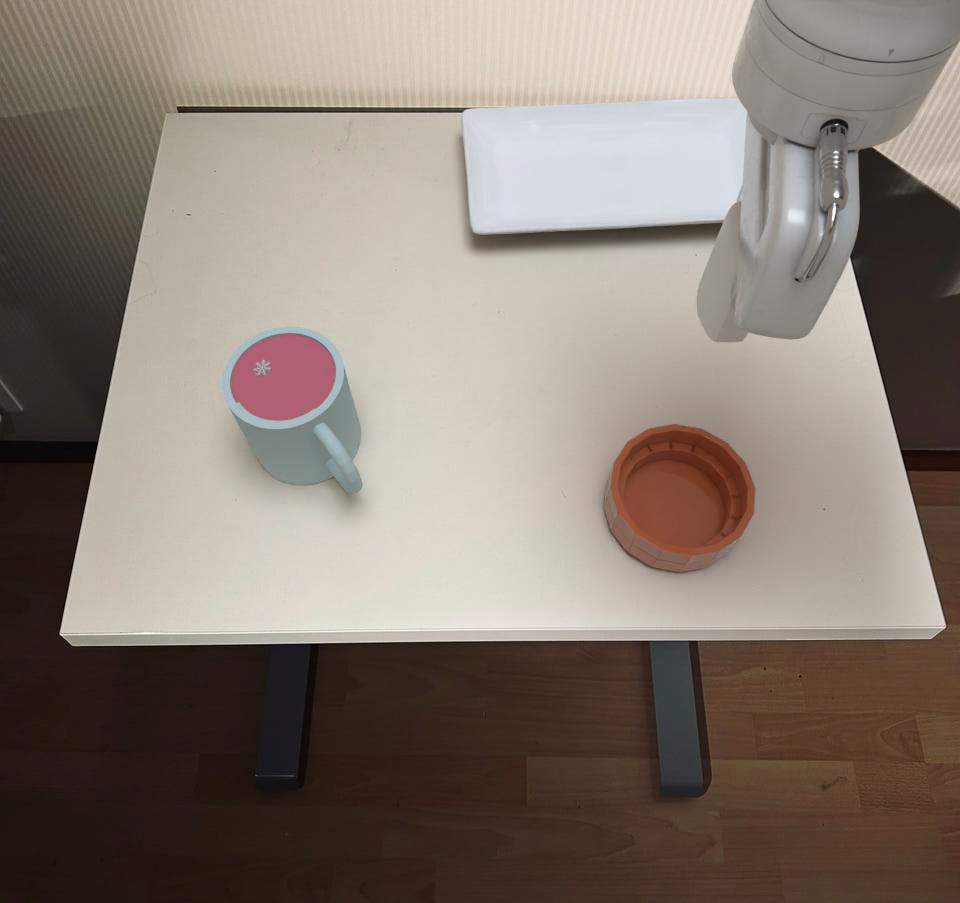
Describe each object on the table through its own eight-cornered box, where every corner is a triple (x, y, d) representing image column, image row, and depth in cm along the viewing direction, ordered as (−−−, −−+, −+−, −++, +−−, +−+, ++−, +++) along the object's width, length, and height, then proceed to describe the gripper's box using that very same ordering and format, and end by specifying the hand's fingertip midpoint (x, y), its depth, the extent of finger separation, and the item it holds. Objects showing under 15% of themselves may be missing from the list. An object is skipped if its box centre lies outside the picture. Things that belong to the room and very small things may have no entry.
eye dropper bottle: (765, 294, 55) (835, 158, 44) (737, 354, 53) (803, 226, 42) (706, 270, 56) (760, 131, 45) (675, 328, 53) (725, 196, 43)
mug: (235, 428, 70) (200, 366, 61) (324, 374, 73) (303, 307, 64) (318, 546, 65) (293, 497, 56) (411, 483, 68) (401, 427, 59)
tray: (783, 240, 80) (795, 215, 77) (469, 255, 79) (469, 230, 76) (746, 121, 88) (756, 94, 84) (460, 133, 87) (460, 107, 83)
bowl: (741, 462, 69) (757, 438, 65) (734, 585, 64) (751, 567, 60) (612, 439, 70) (620, 414, 66) (595, 559, 65) (602, 539, 61)
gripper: (920, 235, 32) (796, 407, 44) (897, -65, 41) (799, 147, 53) (761, 212, 32) (682, 388, 45) (773, -80, 42) (705, 134, 54)
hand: (746, 255), depth 49 cm, fingers closed on eye dropper bottle, 5 cm apart
